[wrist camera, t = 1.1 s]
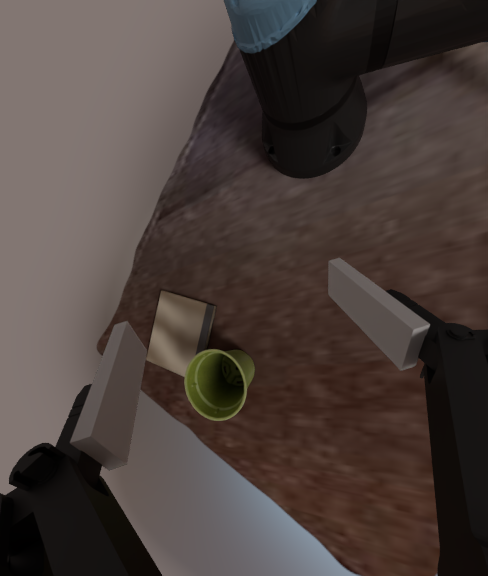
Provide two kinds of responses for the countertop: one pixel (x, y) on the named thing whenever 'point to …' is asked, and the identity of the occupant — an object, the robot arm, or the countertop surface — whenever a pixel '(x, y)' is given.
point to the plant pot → (218, 382)
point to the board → (179, 331)
